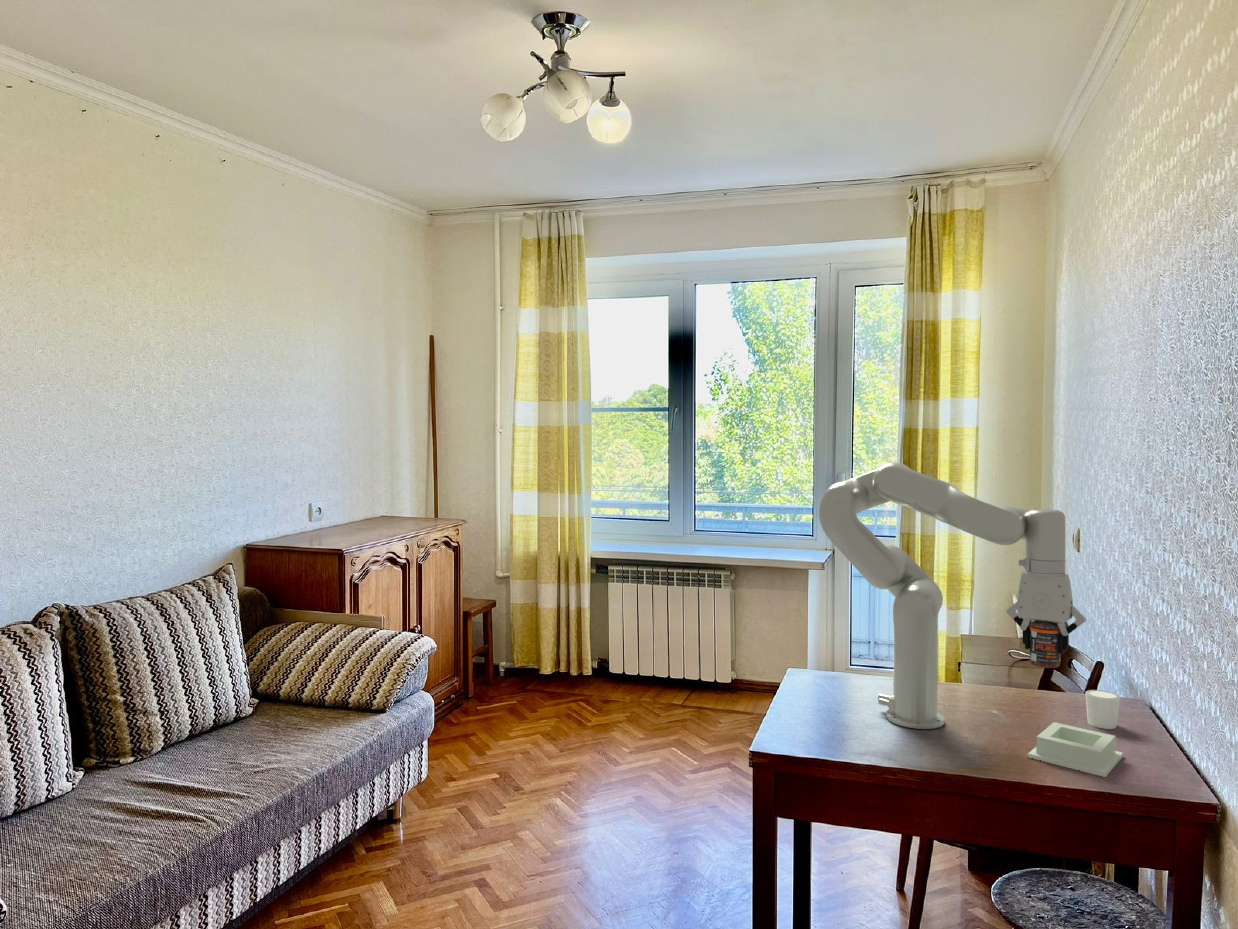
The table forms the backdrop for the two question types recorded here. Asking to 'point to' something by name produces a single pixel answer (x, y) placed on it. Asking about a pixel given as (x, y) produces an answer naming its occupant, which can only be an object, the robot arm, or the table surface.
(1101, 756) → the socket block
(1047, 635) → the supplement bottle
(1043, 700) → the table surface
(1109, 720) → the white cylinder
